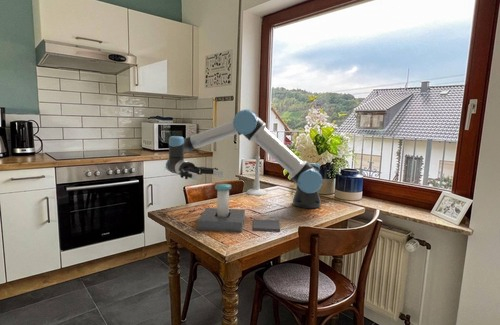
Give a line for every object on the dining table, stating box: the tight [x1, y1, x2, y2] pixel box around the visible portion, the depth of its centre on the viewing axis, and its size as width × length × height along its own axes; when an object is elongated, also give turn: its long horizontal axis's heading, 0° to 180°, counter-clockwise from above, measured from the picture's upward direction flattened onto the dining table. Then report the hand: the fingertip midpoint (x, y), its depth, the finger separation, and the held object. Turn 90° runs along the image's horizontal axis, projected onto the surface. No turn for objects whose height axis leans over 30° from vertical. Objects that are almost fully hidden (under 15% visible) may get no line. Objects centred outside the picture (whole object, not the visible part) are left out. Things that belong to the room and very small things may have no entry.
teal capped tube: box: [214, 183, 232, 217], centre depth 128 cm, size 7×7×17 cm
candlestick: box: [245, 145, 268, 197], centre depth 184 cm, size 13×13×30 cm
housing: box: [197, 207, 246, 233], centre depth 129 cm, size 18×18×4 cm
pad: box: [252, 218, 281, 232], centre depth 127 cm, size 11×11×1 cm
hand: (209, 175), depth 133 cm, fingers open, 13 cm apart
